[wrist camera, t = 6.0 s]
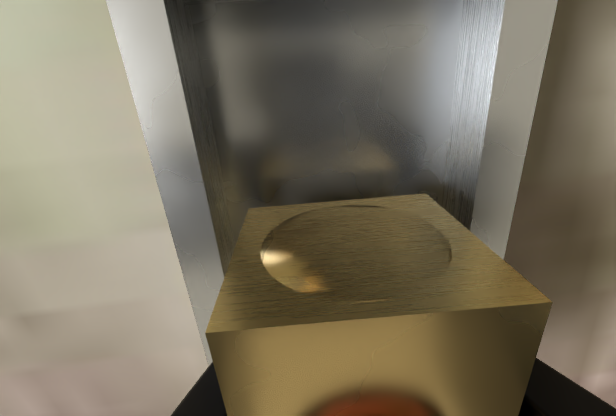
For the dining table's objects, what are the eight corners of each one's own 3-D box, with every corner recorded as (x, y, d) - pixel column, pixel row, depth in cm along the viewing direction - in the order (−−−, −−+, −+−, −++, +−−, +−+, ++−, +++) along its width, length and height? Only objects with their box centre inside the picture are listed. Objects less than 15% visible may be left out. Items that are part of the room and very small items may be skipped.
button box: (409, 388, 10) (491, 603, 6) (279, 399, 10) (269, 625, 6) (426, 193, 8) (595, 339, 3) (248, 208, 7) (190, 375, 3)
